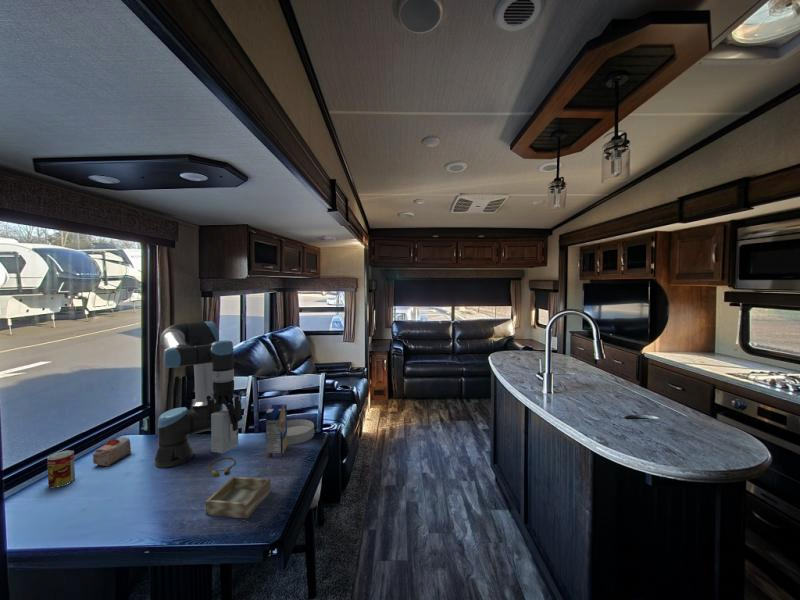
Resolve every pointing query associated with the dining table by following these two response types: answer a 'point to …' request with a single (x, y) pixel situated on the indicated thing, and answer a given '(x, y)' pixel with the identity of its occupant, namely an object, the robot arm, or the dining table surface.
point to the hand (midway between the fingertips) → (225, 438)
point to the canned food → (61, 468)
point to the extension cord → (221, 470)
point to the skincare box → (222, 432)
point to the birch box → (238, 497)
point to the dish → (299, 431)
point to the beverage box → (276, 430)
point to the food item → (112, 451)
